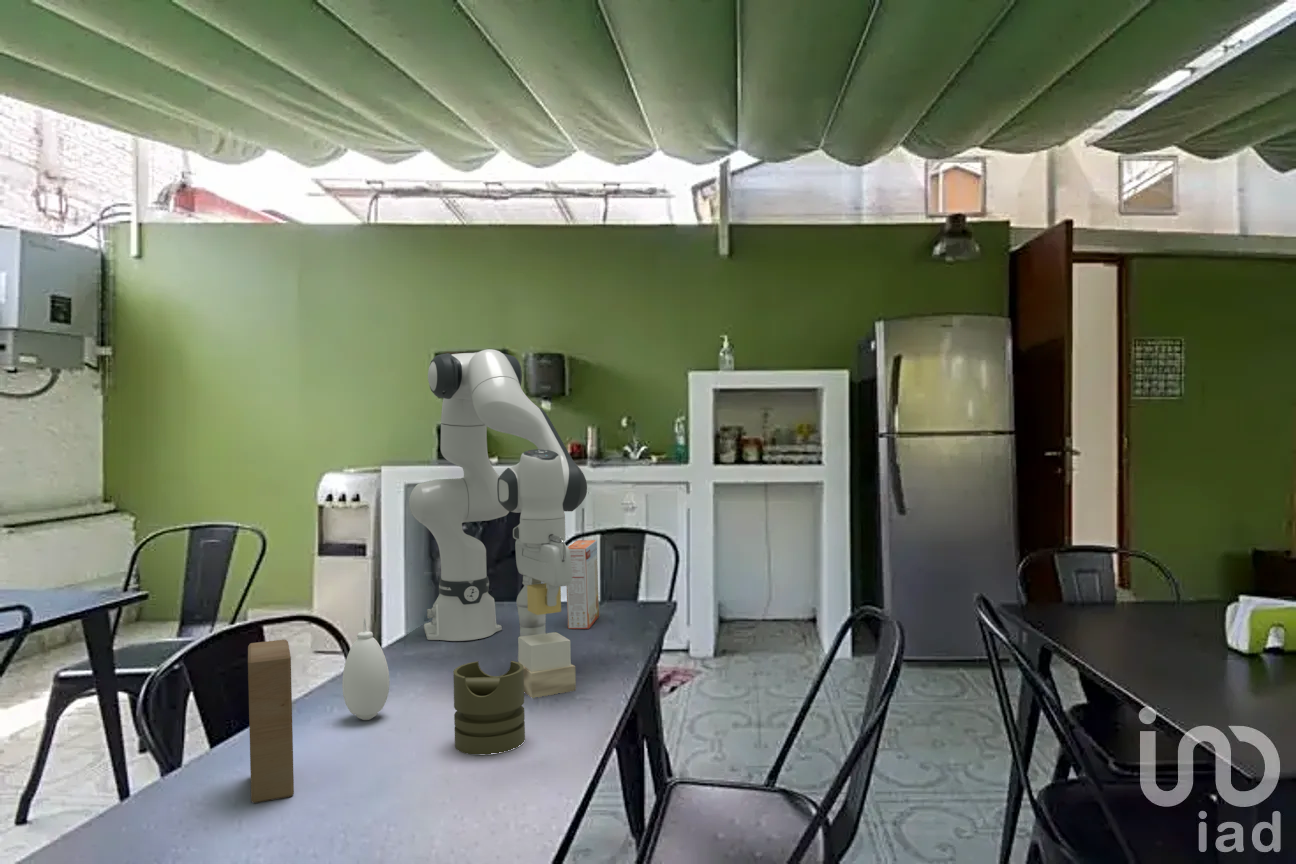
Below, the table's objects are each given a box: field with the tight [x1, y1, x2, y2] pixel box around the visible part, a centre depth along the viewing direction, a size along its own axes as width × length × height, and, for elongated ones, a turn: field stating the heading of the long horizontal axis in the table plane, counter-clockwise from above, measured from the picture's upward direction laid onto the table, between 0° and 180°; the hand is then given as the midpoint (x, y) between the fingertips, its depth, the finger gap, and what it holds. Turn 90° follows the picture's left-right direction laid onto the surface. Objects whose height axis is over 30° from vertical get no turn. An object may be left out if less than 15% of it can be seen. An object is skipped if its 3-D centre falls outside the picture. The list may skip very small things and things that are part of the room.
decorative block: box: [247, 639, 295, 804], centre depth 126 cm, size 11×6×20 cm, turn 23°
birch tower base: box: [517, 661, 577, 699], centre depth 171 cm, size 9×9×5 cm
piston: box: [452, 660, 526, 755], centre depth 142 cm, size 11×12×11 cm
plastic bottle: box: [515, 574, 547, 662], centre depth 184 cm, size 6×7×20 cm
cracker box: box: [566, 539, 600, 630], centre depth 226 cm, size 14×6×21 cm, turn 172°
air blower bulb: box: [341, 617, 390, 721], centre depth 155 cm, size 8×8×18 cm
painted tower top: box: [517, 631, 572, 672], centre depth 171 cm, size 8×8×5 cm
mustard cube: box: [527, 582, 562, 615], centre depth 171 cm, size 5×5×5 cm
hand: (544, 602), depth 171 cm, fingers closed on mustard cube, 5 cm apart
